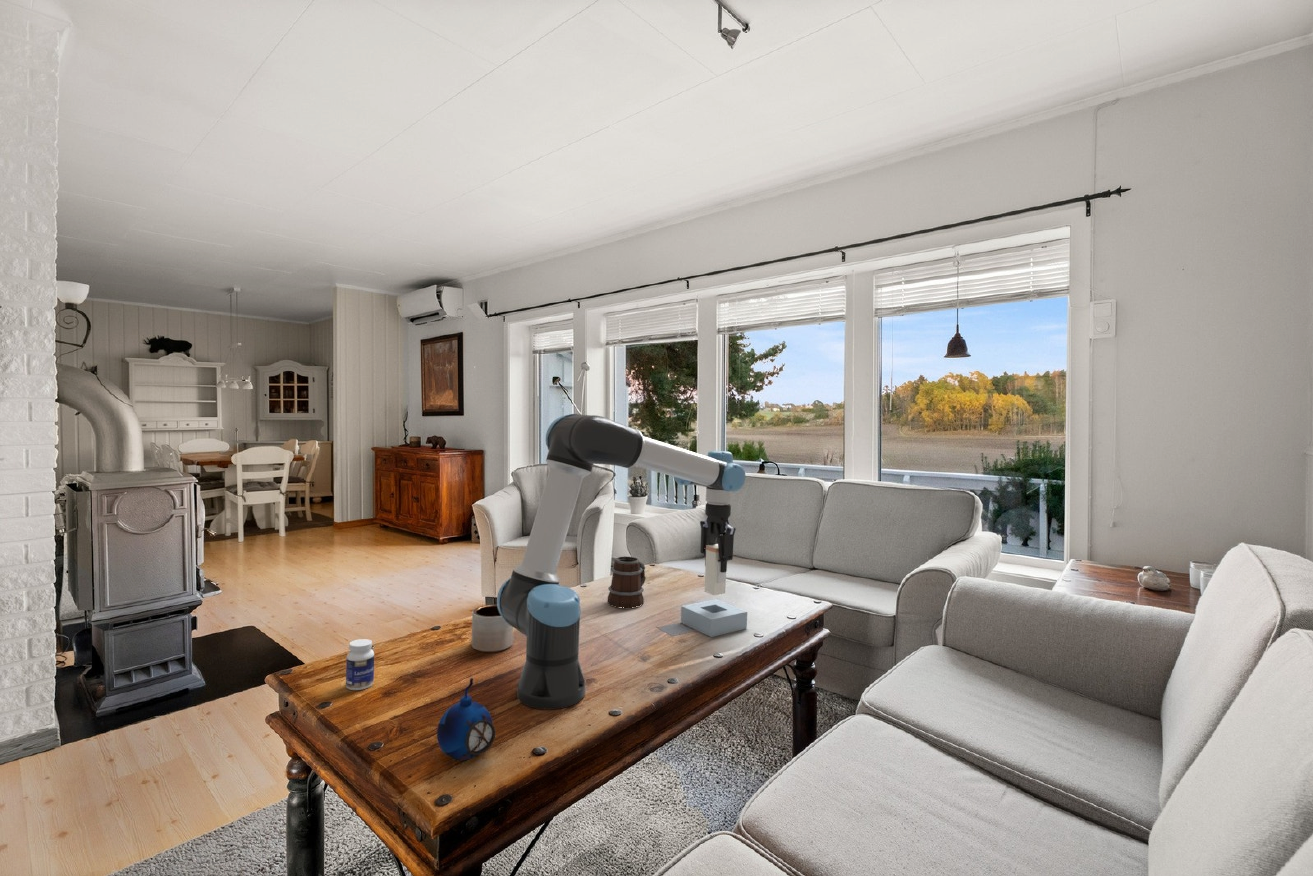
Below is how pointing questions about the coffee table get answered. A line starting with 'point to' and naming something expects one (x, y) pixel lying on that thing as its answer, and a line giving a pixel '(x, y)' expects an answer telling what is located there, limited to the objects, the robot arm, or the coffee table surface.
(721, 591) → the peg
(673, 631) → the mat
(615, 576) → the mug
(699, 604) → the socket block
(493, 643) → the planter
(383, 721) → the coffee table surface
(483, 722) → the bomb
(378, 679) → the coffee table surface
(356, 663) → the pill bottle
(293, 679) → the coffee table surface
